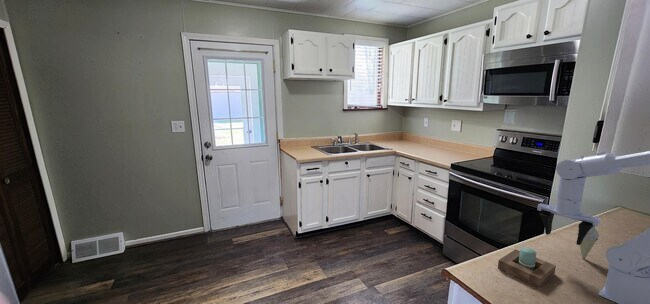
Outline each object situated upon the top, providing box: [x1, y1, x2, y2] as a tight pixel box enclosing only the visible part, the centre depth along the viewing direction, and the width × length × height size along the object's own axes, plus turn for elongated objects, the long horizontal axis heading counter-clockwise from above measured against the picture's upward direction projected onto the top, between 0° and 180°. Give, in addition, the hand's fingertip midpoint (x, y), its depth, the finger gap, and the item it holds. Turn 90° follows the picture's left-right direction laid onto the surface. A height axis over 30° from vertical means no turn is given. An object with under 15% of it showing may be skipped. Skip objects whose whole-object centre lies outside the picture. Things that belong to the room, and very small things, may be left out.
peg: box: [519, 246, 537, 271], centre depth 83 cm, size 4×4×7 cm
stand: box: [497, 248, 557, 289], centre depth 84 cm, size 11×11×3 cm
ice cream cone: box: [576, 226, 600, 260], centre depth 88 cm, size 5×5×15 cm
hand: (563, 238), depth 85 cm, fingers open, 7 cm apart
